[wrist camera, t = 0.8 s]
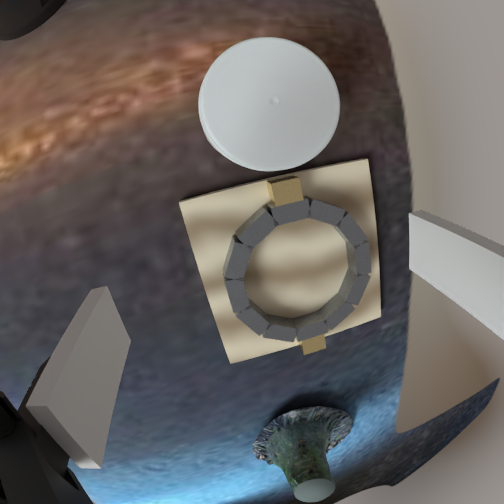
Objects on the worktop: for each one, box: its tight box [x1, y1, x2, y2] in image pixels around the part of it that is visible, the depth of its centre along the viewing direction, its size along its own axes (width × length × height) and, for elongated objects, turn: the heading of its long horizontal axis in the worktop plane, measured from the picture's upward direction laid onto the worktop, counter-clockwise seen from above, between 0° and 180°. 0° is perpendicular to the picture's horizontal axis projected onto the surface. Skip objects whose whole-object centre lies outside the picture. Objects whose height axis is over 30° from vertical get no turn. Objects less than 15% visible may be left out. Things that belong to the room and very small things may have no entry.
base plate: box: [179, 159, 381, 364], centre depth 37 cm, size 22×22×1 cm
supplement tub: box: [199, 37, 340, 171], centre depth 25 cm, size 10×10×15 cm
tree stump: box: [253, 406, 353, 502], centre depth 43 cm, size 18×20×18 cm
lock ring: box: [223, 175, 371, 355], centre depth 36 cm, size 22×17×2 cm
